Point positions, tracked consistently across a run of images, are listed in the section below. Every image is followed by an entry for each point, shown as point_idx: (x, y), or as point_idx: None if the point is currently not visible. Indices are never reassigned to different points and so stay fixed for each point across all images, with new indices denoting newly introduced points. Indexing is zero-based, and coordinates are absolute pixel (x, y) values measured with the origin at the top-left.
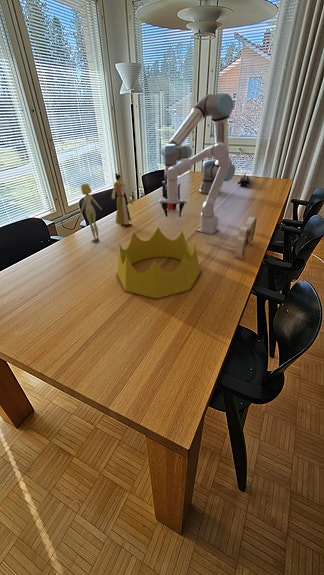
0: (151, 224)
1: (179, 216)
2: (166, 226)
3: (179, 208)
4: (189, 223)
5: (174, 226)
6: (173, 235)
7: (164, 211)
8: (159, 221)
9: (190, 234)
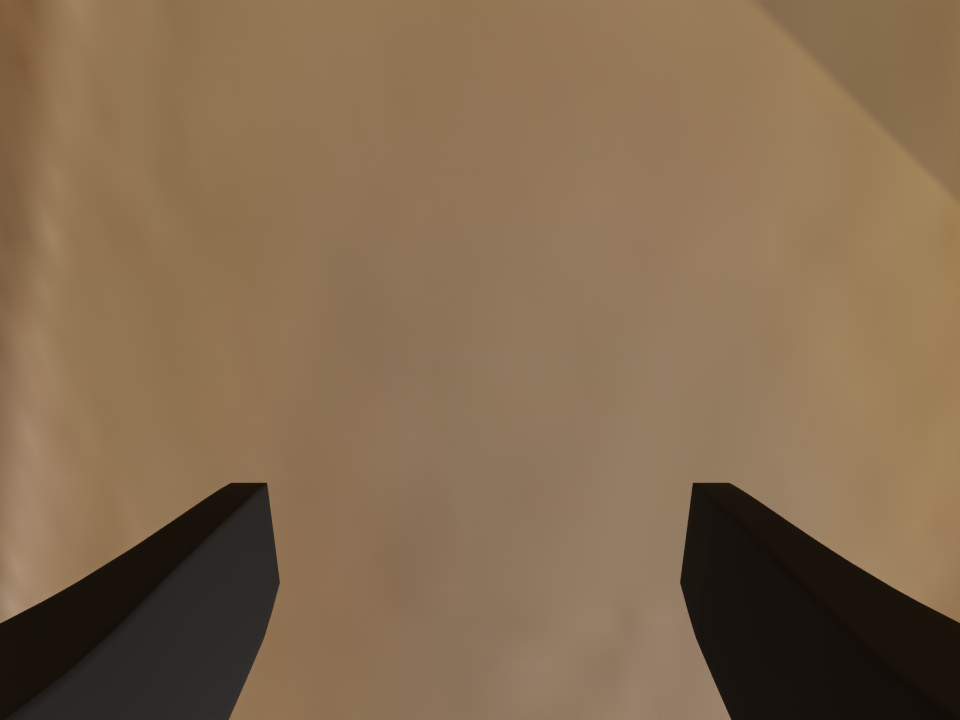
0: (934, 573)
1: (246, 489)
2: (636, 501)
3: (29, 692)
4: None
5: (478, 508)
6: (436, 40)
7: (883, 587)
8: None
9: (61, 126)
